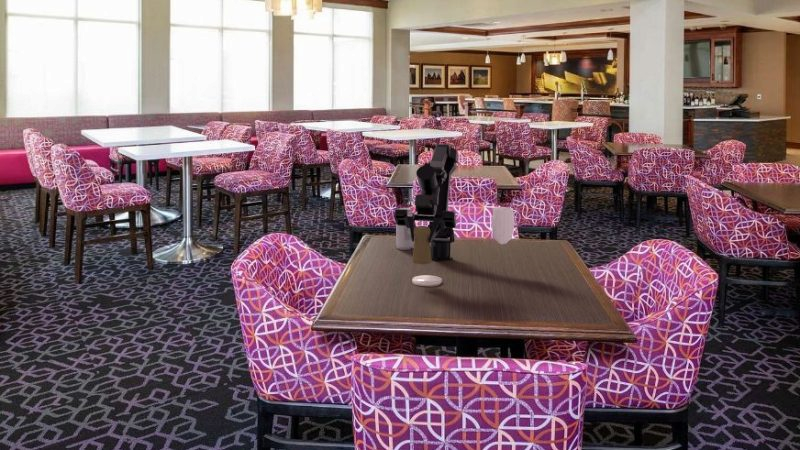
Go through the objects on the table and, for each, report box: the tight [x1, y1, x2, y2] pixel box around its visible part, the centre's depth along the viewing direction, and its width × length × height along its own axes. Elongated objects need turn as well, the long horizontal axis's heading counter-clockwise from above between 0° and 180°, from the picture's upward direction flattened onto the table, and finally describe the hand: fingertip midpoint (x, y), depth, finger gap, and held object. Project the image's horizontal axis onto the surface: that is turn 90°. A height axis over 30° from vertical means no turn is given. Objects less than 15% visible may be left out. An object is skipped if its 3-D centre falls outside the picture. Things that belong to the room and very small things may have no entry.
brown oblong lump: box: [411, 225, 433, 265], centre depth 203 cm, size 6×6×11 cm
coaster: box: [411, 274, 443, 287], centre depth 205 cm, size 9×9×1 cm
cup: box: [491, 206, 515, 245], centre depth 217 cm, size 7×7×21 cm
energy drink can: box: [395, 207, 413, 251], centre depth 250 cm, size 6×6×15 cm
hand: (421, 241), depth 201 cm, fingers closed on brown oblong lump, 5 cm apart
